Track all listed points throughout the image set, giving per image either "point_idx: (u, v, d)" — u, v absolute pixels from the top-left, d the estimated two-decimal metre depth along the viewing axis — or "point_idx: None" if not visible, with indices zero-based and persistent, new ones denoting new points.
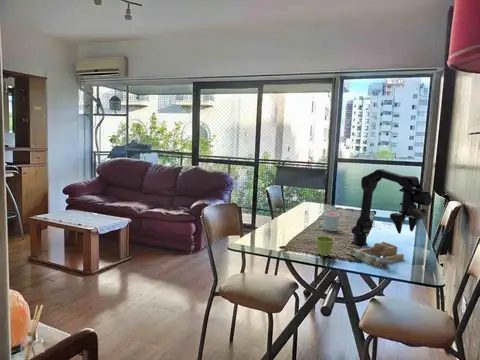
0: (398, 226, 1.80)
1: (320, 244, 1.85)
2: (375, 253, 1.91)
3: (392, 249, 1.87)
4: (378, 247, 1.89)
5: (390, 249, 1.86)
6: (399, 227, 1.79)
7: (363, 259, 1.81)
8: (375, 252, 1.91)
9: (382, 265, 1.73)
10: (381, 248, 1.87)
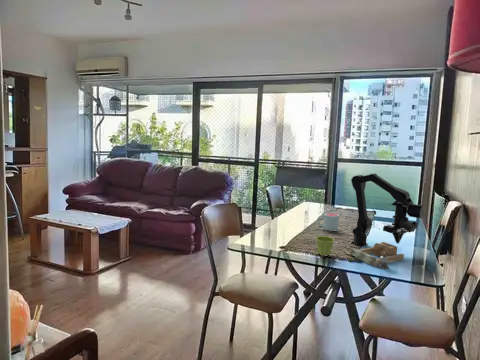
0: (396, 237, 1.93)
1: (320, 244, 1.85)
2: (375, 253, 1.91)
3: (392, 249, 1.87)
4: (378, 247, 1.89)
5: (390, 249, 1.86)
6: (397, 238, 1.93)
7: (363, 259, 1.81)
8: (375, 252, 1.91)
9: (382, 265, 1.73)
10: (381, 248, 1.87)
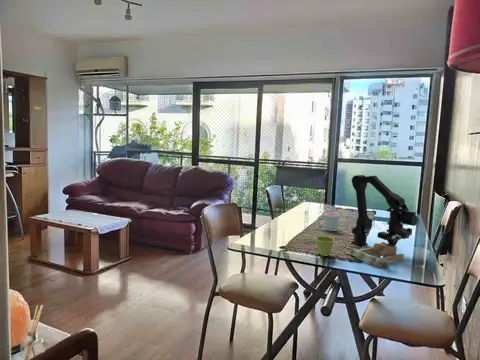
0: (391, 243, 1.92)
1: (320, 244, 1.85)
2: (374, 253, 1.91)
3: (391, 249, 1.87)
4: (377, 247, 1.89)
5: (389, 249, 1.86)
6: (392, 244, 1.91)
7: (363, 259, 1.81)
8: (374, 252, 1.91)
9: (382, 265, 1.73)
10: (380, 248, 1.87)
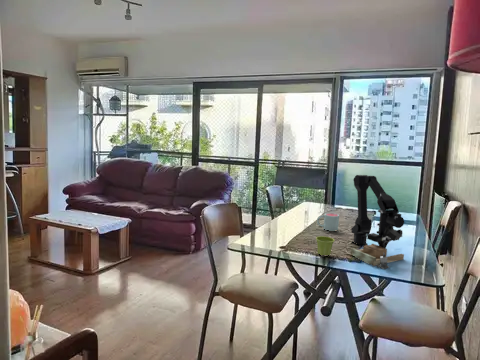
0: (381, 245, 1.88)
1: (320, 244, 1.85)
2: None
3: (381, 251, 1.83)
4: (367, 249, 1.85)
5: (379, 251, 1.82)
6: (382, 246, 1.88)
7: (363, 259, 1.81)
8: None
9: (382, 265, 1.73)
10: (370, 250, 1.84)
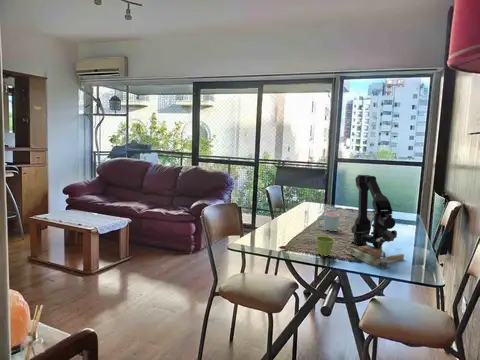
0: (376, 246, 1.86)
1: (320, 244, 1.85)
2: None
3: (376, 252, 1.81)
4: (362, 250, 1.83)
5: (374, 252, 1.80)
6: (377, 247, 1.86)
7: (363, 259, 1.81)
8: None
9: (382, 265, 1.73)
10: (365, 251, 1.82)
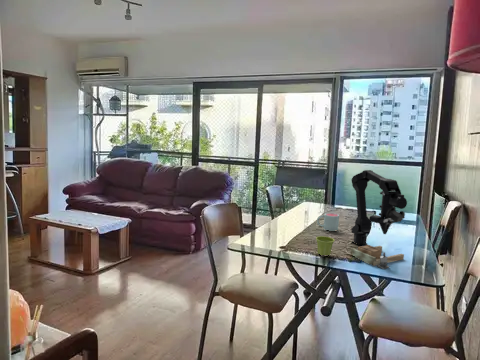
0: (383, 227, 1.87)
1: (320, 244, 1.85)
2: None
3: (376, 252, 1.81)
4: (362, 250, 1.83)
5: (374, 252, 1.80)
6: (384, 228, 1.87)
7: (363, 259, 1.81)
8: None
9: (382, 265, 1.73)
10: (365, 251, 1.82)
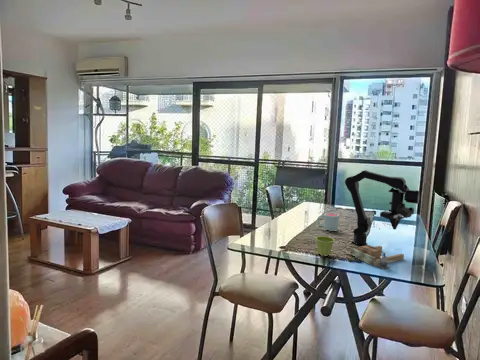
0: (393, 223, 1.97)
1: (320, 244, 1.85)
2: None
3: (376, 252, 1.81)
4: (362, 250, 1.83)
5: (374, 252, 1.80)
6: (394, 223, 1.96)
7: (363, 259, 1.81)
8: None
9: (382, 265, 1.73)
10: (365, 251, 1.82)
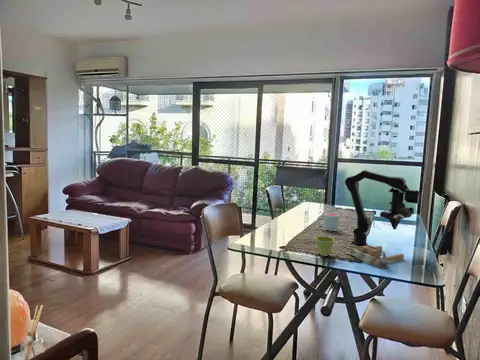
0: (393, 223, 1.97)
1: (320, 244, 1.85)
2: None
3: (376, 252, 1.81)
4: (362, 250, 1.83)
5: (374, 252, 1.80)
6: (394, 223, 1.96)
7: (363, 259, 1.81)
8: None
9: (382, 265, 1.73)
10: (365, 251, 1.82)
